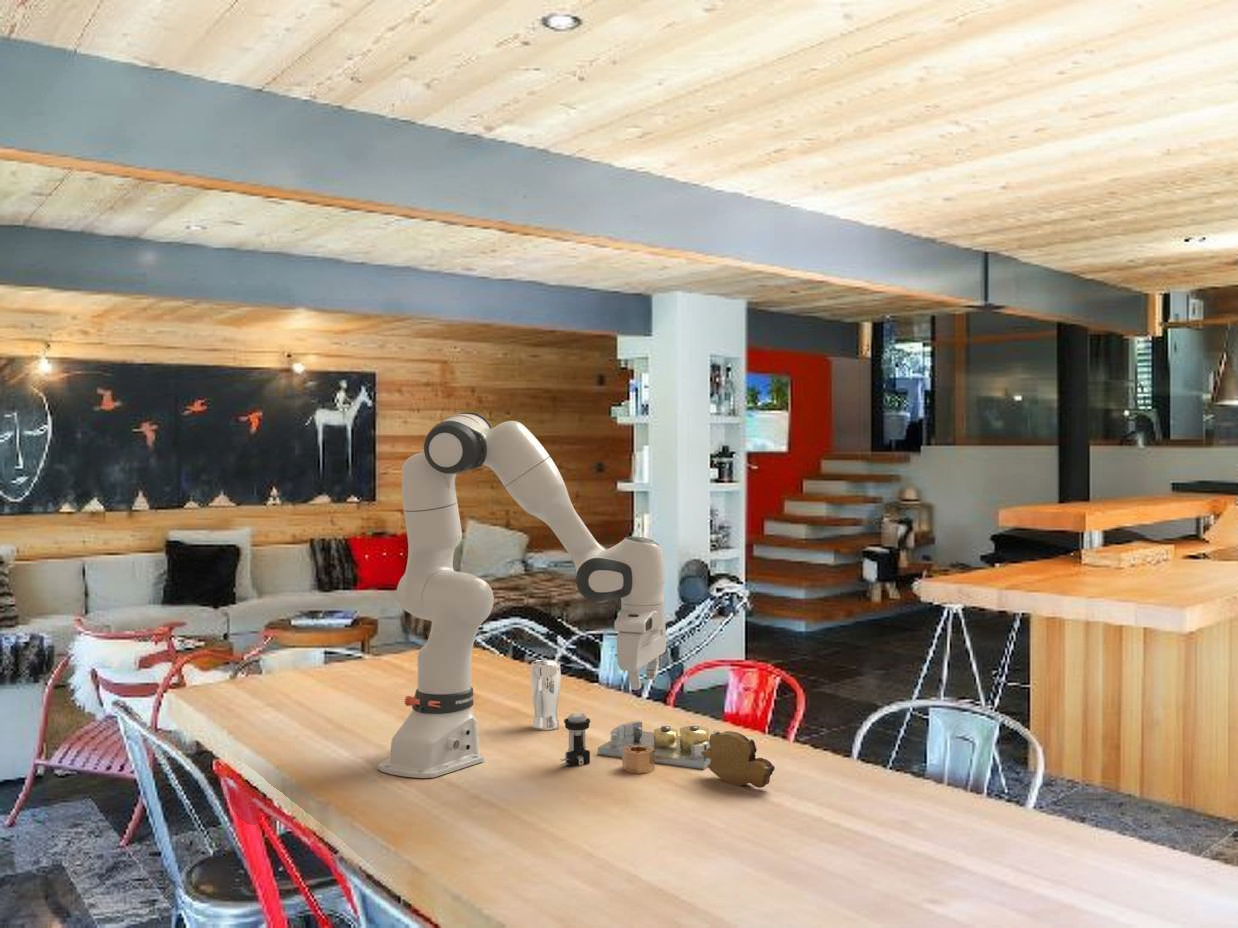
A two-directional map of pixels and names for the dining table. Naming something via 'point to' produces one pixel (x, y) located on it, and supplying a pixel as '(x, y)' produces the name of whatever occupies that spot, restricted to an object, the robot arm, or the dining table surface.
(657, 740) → the carrier
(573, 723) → the push button
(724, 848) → the dining table surface
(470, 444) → the robot arm
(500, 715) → the dining table surface
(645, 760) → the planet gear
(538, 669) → the beer glass
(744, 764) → the wooden carving
